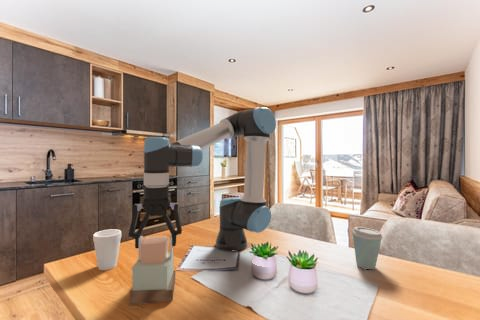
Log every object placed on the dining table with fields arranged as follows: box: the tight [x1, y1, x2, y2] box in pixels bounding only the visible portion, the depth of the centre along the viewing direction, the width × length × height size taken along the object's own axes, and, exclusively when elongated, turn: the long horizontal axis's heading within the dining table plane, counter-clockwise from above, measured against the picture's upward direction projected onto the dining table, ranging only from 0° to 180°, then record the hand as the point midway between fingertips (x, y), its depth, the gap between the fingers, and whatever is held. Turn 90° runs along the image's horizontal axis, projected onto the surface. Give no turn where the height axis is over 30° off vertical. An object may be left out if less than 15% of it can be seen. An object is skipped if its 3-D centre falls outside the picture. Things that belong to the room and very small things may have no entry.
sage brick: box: [131, 252, 174, 291], centre depth 75 cm, size 10×10×7 cm
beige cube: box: [141, 235, 169, 264], centre depth 76 cm, size 7×7×6 cm
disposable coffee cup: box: [352, 226, 383, 270], centre depth 94 cm, size 11×11×15 cm
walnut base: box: [128, 270, 176, 306], centre depth 75 cm, size 12×12×4 cm
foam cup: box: [92, 228, 122, 271], centre depth 92 cm, size 10×9×13 cm
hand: (156, 256), depth 76 cm, fingers open, 8 cm apart
